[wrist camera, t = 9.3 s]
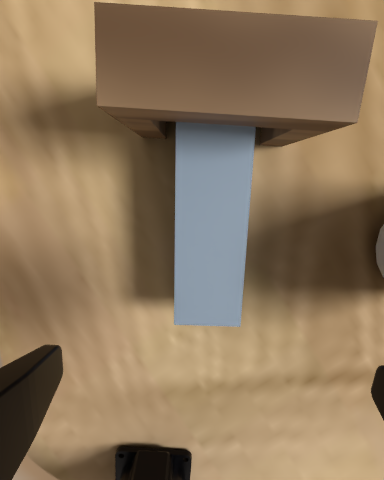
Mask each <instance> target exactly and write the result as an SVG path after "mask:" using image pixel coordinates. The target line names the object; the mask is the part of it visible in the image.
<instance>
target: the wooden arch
mask: <svg viewBox="0 0 384 480" xmlns="http://www.w3.org/2000/svg"><path fill="white" fill-rule="evenodd" d="M94 7H95V49H96V92H97V106H98V107H99V108H101V109H102V110H104V111H105V112H107V113H108V114H110V115H111V116H112V117H114V118H115V119H117V120H118V121H120V122H121V123H123V124H124V125H125V126H127V127H128V128H130V129H131V130H133V131H134V132H136V133H137V134H138V135H140V136H141V137H148V138H164V139H166V121H173V122H188V123H204V124H219V125H234V126H250V127H261V136H260V144H259V145H272V146H285V145H288V144H291V143H295V142H298V141H301V140H304V139H307V138H310V137H314V136H317V135H320V134H323V133H326V132H329V131H333V130H336V129H339V128H342V127H345V126H348V125H352V124H355V123H357V122H358V117H359V112H360V107H361V102H362V97H363V92H364V87H365V82H366V77H367V72H368V67H369V62H370V57H371V52H372V47H373V42H374V37H375V32H376V27H377V22H378V21H371V20H356V19H341V18H326V17H311V16H296V15H281V14H266V13H251V12H236V11H221V10H206V9H191V8H175V7H160V6H145V5H130V4H115V3H100V2H94Z"/></svg>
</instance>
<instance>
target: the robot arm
mask: <svg viewBox="0 0 384 480" xmlns="http://www.w3.org/2000/svg"><path fill="white" fill-rule="evenodd" d="M62 374H63V362H62V350H61V347H60V346H59V345H43V346H41V347H40V348H38V349H36V350H34V351H32V352H30V353H28V354H26V355H24V356H22V357H20V358H19V359H17V360H15V361H13V362H11V363H9V364H7V365H5V366H3V367H1V368H0V480H12V478H13V476H14V475H15V473H16V471H17V469H18V468H19V466H20V464H21V462H22V460H23V459H24V457H25V455H26V453H27V451H28V450H29V448H30V446H31V444H32V442H33V440H34V438H35V436H36V434H37V432H38V430H39V428H40V426H41V423H42V421H43V419H44V417H45V414H46V412H47V410H48V408H49V405H50V403H51V401H52V399H53V396H54V394H55V392H56V390H57V387H58V385H59V383H60V381H61V378H62ZM371 394H372V398H373V400H374V402H375V404H376V406H377V408H378V410H379V412H380V414H381V416H382V418H383V420H384V365H381V366H379V367H378V368H377V370H376V373H375V377H374V380H373V384H372V387H371ZM115 458H116V480H190V472H191V459H192V455H191V453H190V452H189V451H186V450H170V449H153V448H137V447H119V448H118V449H117V452H116V455H115Z"/></svg>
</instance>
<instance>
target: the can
mask: <svg viewBox="0 0 384 480" xmlns="http://www.w3.org/2000/svg"><path fill="white" fill-rule="evenodd" d="M376 259H377V264H378V267H379V269H380V271H381V273H382V276H383V277H384V224H383V226H382V227H381V229H380V233H379V236H378V240H377V244H376Z"/></svg>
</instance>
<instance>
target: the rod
mask: <svg viewBox="0 0 384 480" xmlns="http://www.w3.org/2000/svg"><path fill="white" fill-rule="evenodd" d="M255 131H256V127H250V126H234V125H219V124H204V123H188V122H176V170H175V285H174V325H202V326H237V327H240V324H241V311H242V298H243V285H244V272H245V260H246V247H247V234H248V221H249V208H250V195H251V182H252V169H253V156H254V143H255Z"/></svg>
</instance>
